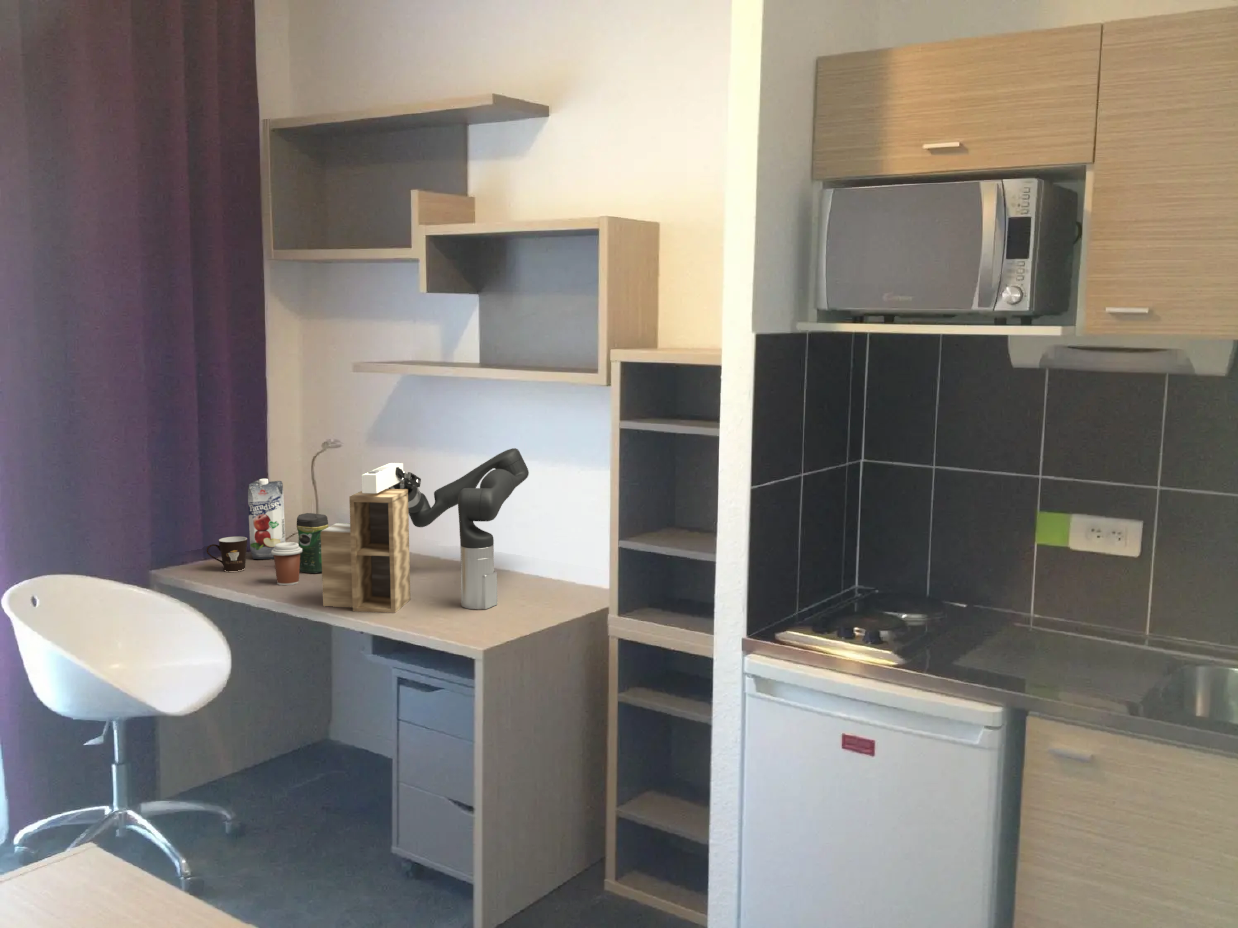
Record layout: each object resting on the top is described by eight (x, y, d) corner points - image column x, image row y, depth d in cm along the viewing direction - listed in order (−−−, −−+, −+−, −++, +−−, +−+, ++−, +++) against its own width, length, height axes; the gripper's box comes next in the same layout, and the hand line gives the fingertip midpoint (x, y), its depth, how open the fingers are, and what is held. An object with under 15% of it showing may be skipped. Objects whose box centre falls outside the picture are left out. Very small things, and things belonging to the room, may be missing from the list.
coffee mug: (253, 567, 350) (251, 536, 349) (241, 573, 342) (239, 542, 341) (218, 566, 352) (217, 536, 350) (206, 572, 343) (204, 541, 342)
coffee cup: (306, 579, 334) (305, 541, 333) (300, 586, 325) (298, 547, 324) (276, 579, 334) (274, 541, 332) (269, 586, 325) (267, 547, 323)
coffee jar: (334, 569, 347) (332, 512, 344) (316, 575, 340) (314, 516, 337) (311, 566, 351) (309, 510, 349) (293, 571, 344) (291, 514, 342)
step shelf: (338, 595, 315) (335, 486, 311) (412, 597, 312) (409, 488, 308) (317, 610, 299) (313, 495, 295) (395, 612, 297) (392, 497, 292)
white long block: (390, 480, 316) (389, 461, 315) (403, 480, 315) (403, 461, 315) (362, 493, 292) (361, 473, 291) (376, 493, 292) (376, 473, 291)
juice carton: (256, 554, 369) (252, 476, 365) (287, 554, 369) (284, 476, 366) (248, 560, 360) (245, 480, 356) (281, 560, 360) (277, 480, 357)
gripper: (383, 479, 326) (366, 457, 310) (430, 480, 325) (414, 458, 309) (380, 502, 323) (362, 481, 307) (427, 503, 322) (411, 482, 306)
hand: (389, 470), depth 308 cm, fingers closed on white long block, 4 cm apart
